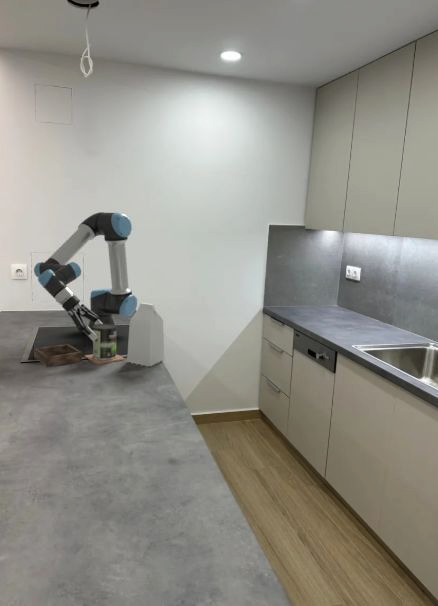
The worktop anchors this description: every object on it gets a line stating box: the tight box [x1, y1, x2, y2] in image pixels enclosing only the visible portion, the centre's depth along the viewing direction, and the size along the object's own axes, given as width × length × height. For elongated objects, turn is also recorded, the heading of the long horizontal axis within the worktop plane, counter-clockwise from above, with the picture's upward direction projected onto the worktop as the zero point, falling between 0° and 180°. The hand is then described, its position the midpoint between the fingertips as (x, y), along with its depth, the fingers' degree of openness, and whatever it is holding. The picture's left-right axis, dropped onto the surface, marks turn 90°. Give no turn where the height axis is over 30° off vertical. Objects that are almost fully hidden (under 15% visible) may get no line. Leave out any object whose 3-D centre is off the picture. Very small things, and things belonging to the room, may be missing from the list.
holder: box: [33, 343, 83, 368], centre depth 201 cm, size 15×15×4 cm
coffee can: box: [92, 324, 117, 360], centre depth 205 cm, size 10×10×14 cm
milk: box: [126, 302, 165, 367], centre depth 203 cm, size 12×12×26 cm
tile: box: [84, 353, 125, 365], centre depth 206 cm, size 13×13×1 cm
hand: (101, 335), depth 204 cm, fingers open, 13 cm apart
